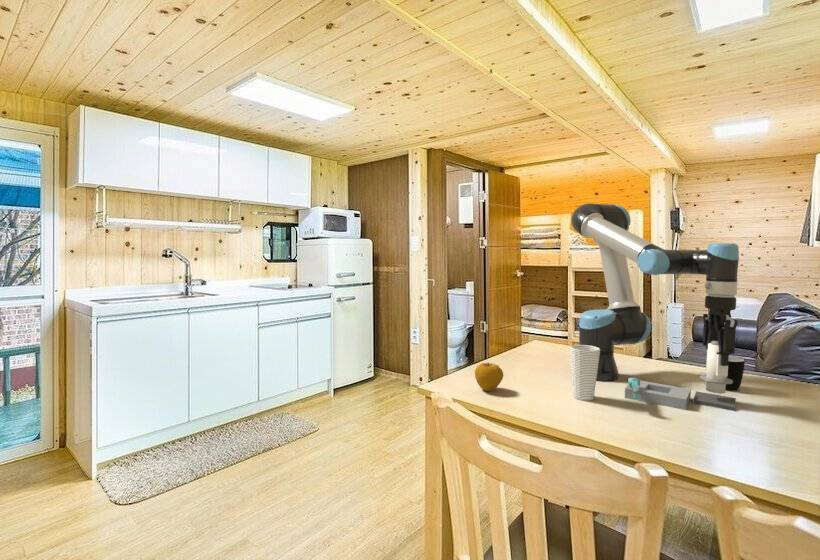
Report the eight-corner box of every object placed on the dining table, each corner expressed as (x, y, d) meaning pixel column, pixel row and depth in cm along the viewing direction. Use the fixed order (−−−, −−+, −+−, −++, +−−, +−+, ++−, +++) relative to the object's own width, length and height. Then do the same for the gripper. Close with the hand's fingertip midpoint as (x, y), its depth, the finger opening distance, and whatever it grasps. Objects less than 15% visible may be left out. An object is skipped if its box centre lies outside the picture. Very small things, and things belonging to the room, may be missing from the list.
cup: (597, 394, 137) (599, 345, 136) (599, 403, 129) (601, 351, 128) (568, 391, 139) (570, 343, 138) (568, 400, 131) (570, 349, 130)
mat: (692, 402, 130) (693, 399, 130) (696, 394, 138) (696, 391, 138) (734, 410, 124) (734, 407, 124) (735, 401, 132) (735, 398, 132)
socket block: (624, 397, 134) (625, 385, 134) (632, 388, 144) (633, 376, 143) (685, 409, 124) (686, 396, 124) (690, 398, 134) (691, 386, 134)
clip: (627, 382, 137) (628, 373, 137) (639, 383, 135) (639, 374, 135) (630, 399, 121) (631, 389, 121) (643, 400, 120) (644, 390, 120)
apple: (505, 388, 143) (506, 360, 142) (499, 396, 135) (499, 367, 134) (478, 384, 146) (479, 357, 146) (470, 391, 138) (471, 364, 138)
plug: (698, 391, 130) (700, 342, 129) (700, 385, 136) (703, 338, 135) (731, 397, 125) (734, 345, 124) (732, 390, 131) (735, 341, 130)
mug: (749, 392, 141) (752, 361, 140) (725, 393, 140) (727, 361, 139) (718, 381, 153) (720, 352, 152) (695, 381, 151) (697, 353, 151)
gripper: (691, 292, 138) (688, 365, 140) (724, 298, 120) (719, 381, 122) (717, 293, 137) (713, 366, 139) (754, 299, 119) (749, 382, 121)
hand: (716, 373), depth 130 cm, fingers closed on plug, 5 cm apart
